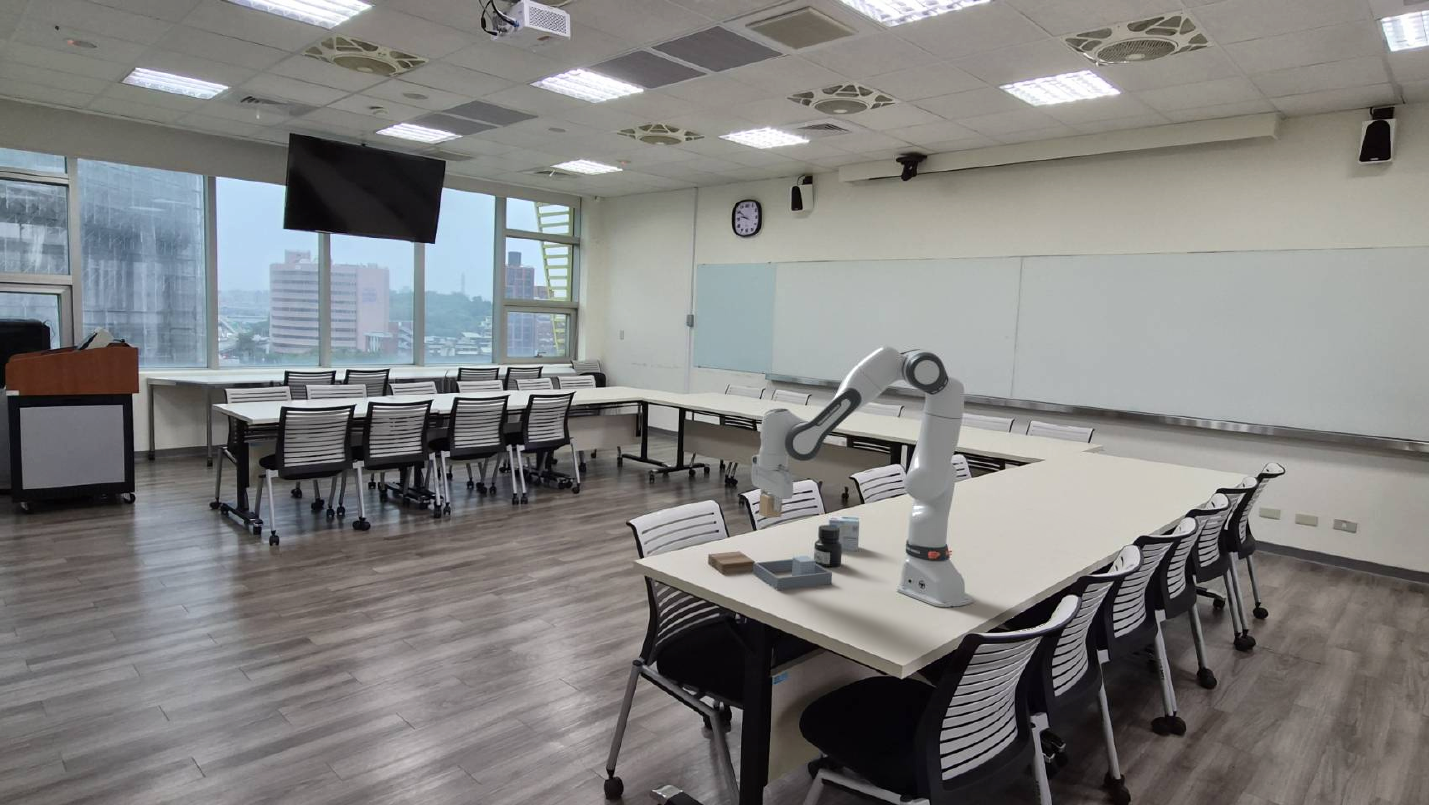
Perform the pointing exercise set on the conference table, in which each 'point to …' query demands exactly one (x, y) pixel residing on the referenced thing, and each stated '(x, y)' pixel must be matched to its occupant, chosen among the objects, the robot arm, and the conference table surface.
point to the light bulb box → (846, 531)
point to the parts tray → (769, 567)
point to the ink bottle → (828, 547)
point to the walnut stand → (730, 562)
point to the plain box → (803, 566)
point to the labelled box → (768, 506)
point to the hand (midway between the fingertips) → (770, 506)
